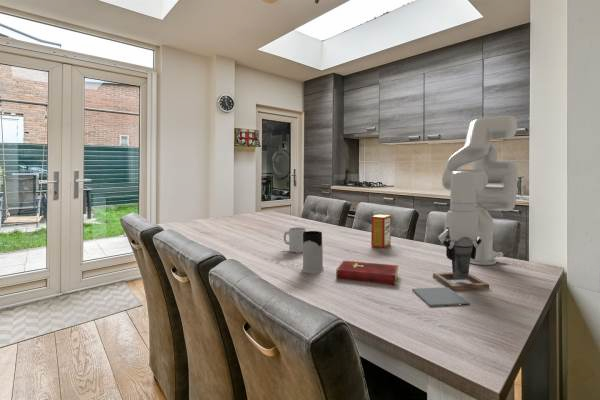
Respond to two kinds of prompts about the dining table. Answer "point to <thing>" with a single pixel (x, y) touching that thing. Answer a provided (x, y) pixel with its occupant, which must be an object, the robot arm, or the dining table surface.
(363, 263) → the hardcover book
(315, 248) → the glass holder
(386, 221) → the baking soda box
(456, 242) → the beverage cup
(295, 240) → the mug
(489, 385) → the dining table surface
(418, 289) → the slate mat
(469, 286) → the frame
